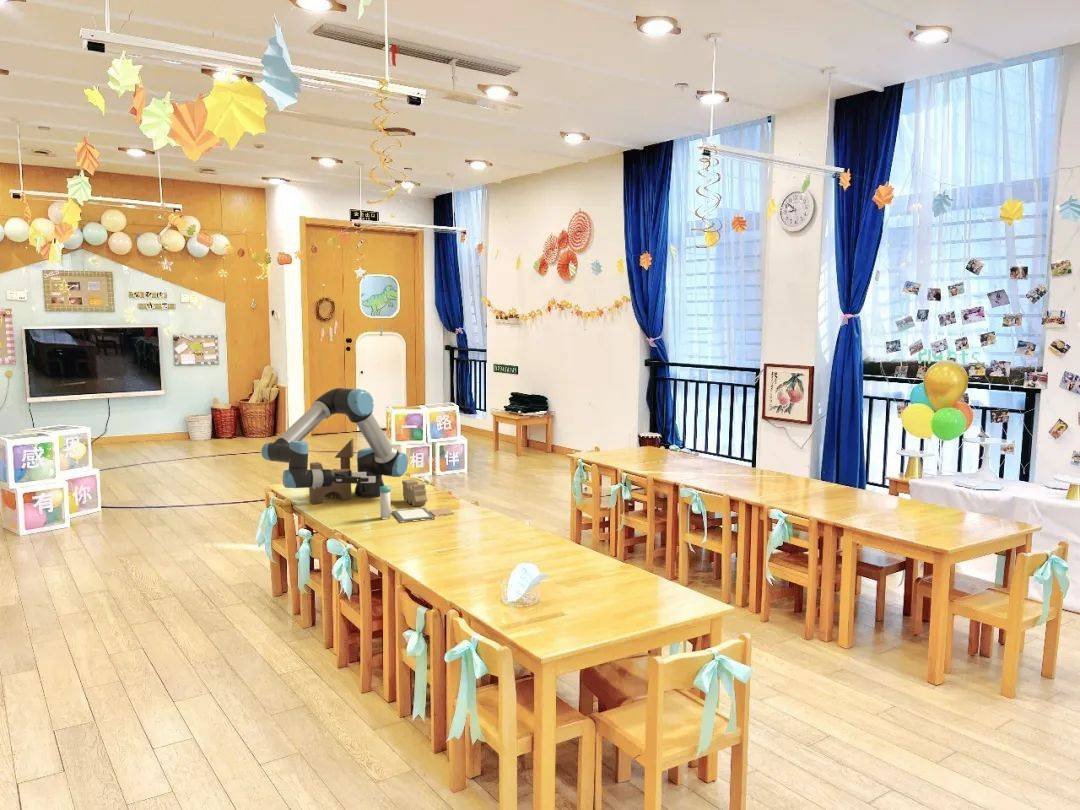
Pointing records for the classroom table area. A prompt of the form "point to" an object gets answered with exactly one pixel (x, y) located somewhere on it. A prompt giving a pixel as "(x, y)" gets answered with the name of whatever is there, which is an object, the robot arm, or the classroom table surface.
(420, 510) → the writing board
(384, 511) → the white bottle
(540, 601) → the classroom table surface
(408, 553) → the classroom table surface
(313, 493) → the wooden blocks
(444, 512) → the coaster
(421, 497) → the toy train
